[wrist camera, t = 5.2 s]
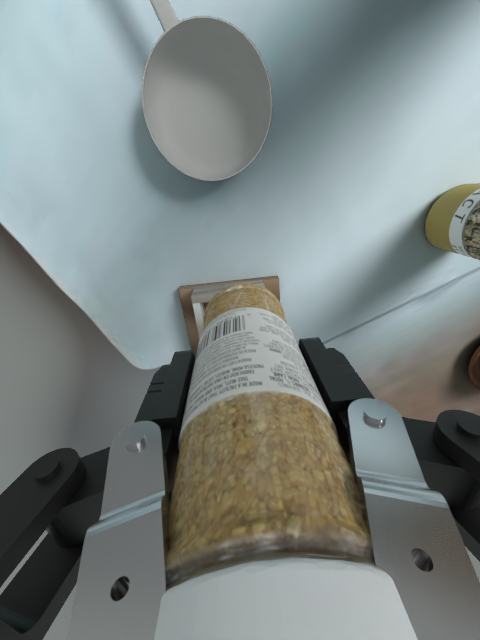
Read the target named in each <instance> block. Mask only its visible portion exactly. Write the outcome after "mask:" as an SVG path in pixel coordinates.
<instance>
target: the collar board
mask: <svg viewBox="0 0 480 640" xmlns="http://www.w3.org/2000/svg"><path fill="white" fill-rule="evenodd" d="M240 283H250V284H255V285H259V286H261V287H264V288H266V289H268V290H269V291H270V292H271V293H272V294H274V295H275V296H276V298H277V299H278V300H279V302H280V292H279V278H278V276H271V277H262V278H253V279H244V280H234V281H225V282H216V283H207V284H198V285H189V286H180V288H179V289H178V291H179V295H180V300H181V304H182V309H183V313H184V318H185V322H186V326H187V331H188V335H189V340H190V344H191V349H192V350H193V351H194V353H195V357H196V354H197V349H198V344H199V340H200V337H201V335H202V333H203V329H204V325H203V317H204V314H205V311H206V307H207V305H208V303H209V302H210V300H211V299H212V298H213V296H214V295H215V294H217V293H218V292H219V291H222V290H223V289H224V288H226V287H229V286H231V285H234V284H240Z"/></svg>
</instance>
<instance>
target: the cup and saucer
mask: <svg viewBox="0 0 480 640" xmlns="http://www.w3.org/2000/svg"><path fill="white" fill-rule="evenodd" d="M468 372H469V377H470V380H471V381H472V383H473V384H474V385H475V386H476V387H477V388H479V389H480V346H479V347H478V348H477V349H476V351H475V352H474V354H473V356H472V358H471V360H470V364H469V370H468Z"/></svg>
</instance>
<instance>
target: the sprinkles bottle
mask: <svg viewBox="0 0 480 640" xmlns="http://www.w3.org/2000/svg"><path fill="white" fill-rule="evenodd" d="M203 325H204V329H203V333H202V335H201V337H200V340H199V344H198V349H197V354H196V358H195V362H194V367H193V372H192V377H191V382H190V387H189V392H188V397H187V401H186V406H185V411H184V416H183V421H182V426H181V431H180V436H179V444H178V449H179V456H178V461H177V467H176V473H175V478H174V488H173V492H172V497H171V501H170V513H169V543H170V550H169V552H168V557H167V564H166V566H167V573H168V578H169V588H168V590H167V591H166V592H165V593H164V594H163V596H162V599H161V604H160V609H159V615H158V620H157V626H156V631H155V637H154V640H418V639H417V637H416V634H415V632H414V629H413V627H412V625H411V622H410V620H409V617H408V615H407V613H406V610H405V608H404V605H403V603H402V601H401V598H400V596H399V593H398V591H397V589H396V586H395V584H394V581H393V579H392V578H391V577H390V576H389V575H388V574H387V573H386V572H385V571H383V570H381V569H379V568H376V567H375V564H374V561H373V556H372V545H371V539H370V535H369V533H368V531H367V528H366V524H365V521H364V516H363V510H362V507H361V503H360V497H359V493H358V489H357V485H356V484H355V478H354V473H353V470H352V467H351V465H350V464H349V463H348V460H347V457H346V455H345V452H344V450H343V448H342V446H341V444H340V442H339V439H338V434H337V430H336V427H335V425H334V423H333V420H332V418H331V416H330V414H329V412H328V410H327V407H326V405H325V403H324V401H323V399H322V397H321V395H320V392H319V390H318V388H317V386H316V384H315V381H314V379H313V377H312V375H311V373H310V370H309V368H308V366H307V364H306V361H305V359H304V357H303V355H302V352H301V350H300V348H299V346H298V344H297V341H296V339H295V337H294V335H293V332H292V330H291V329H290V327H289V326H288V325H287V322H286V320H285V318H284V312H283V309H282V307H281V304H280V302H279V300H278V299H277V298H276V296H275V295H274V294H272V293H271V292H270V291H269V290H268V289H266V288H264V287H261V286H259V285H255V284H250V283H240V284H234V285H231V286H229V287H226V288H224V289H223V290H222V291H219V292H218V293H217V294H215V295H214V296H213V298H212V299H211V300H210V302H209V303H208V305H207V307H206V311H205V314H204V317H203Z"/></svg>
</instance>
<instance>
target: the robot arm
mask: <svg viewBox="0 0 480 640" xmlns="http://www.w3.org/2000/svg"><path fill="white" fill-rule="evenodd" d="M299 348H300V350H301V352H302V355H303V357H304V359H305V361H306V364H307V366H308V368H309V370H310V373H311V375H312V377H313V379H314V381H315V384H316V386H317V388H318V390H319V392H320V395H321V397H322V399H323V401H324V403H325V405H326V407H327V410H328V412H329V414H330V416H331V418H332V420H333V423H334V425H335V427H336V430H337V434H338V439H339V442H340V444H341V446H342V448H343V450H344V452H345V455H346V457H347V460H348V463H349V464H350V465H351V467H352V470H353V473H354V478H355V484H356V485H357V489H358V493H359V497H360V503H361V507H362V510H363V516H364V521H365V524H366V528H367V531H368V533H369V535H370V539H371V545H372V556H373V561H374V564H375V567H376V568H379V569H381V570H383V571H385V572H386V573H387V574H388V575H389V576H390V577H391V578H392V579H393V581H394V584H395V586H396V589H397V591H398V593H399V596H400V598H401V601H402V603H403V605H404V608H405V610H406V613H407V615H408V617H409V620H410V622H411V625H412V627H413V629H414V632H415V634H416V637H417V639H418V640H480V582H479V579H478V577H477V574H476V572H475V569H474V567H473V565H472V562H471V560H470V557H469V555H468V552H467V550H466V548H465V546H466V547H467V548H468V550H469V551H470V552H471V553H472V554H473V555H474V556H475V557H476V558H477V559H478V560H479V561H480V416H478V415H475V414H473V413H470V412H466V411H461V410H447V411H444V412H442V413H440V414H439V415H438V418H437V421H436V422H429V421H422V420H416V419H409V418H405V417H401V415H400V414H399V413H398V412H397V410H396V409H394V408H393V407H392V406H390V405H389V404H387V403H385V402H382V401H380V400H376V399H375V398H374V397H373V395H372V394H371V392H370V391H369V390H368V388H367V387H366V385H365V384H364V383H363V381H362V380H361V378H360V377H359V376H358V374H357V373H356V372H355V370H354V369H353V367H352V366H351V365H350V363H349V361H348V360H347V359H346V357H345V356H344V355H343V354H342V353H340V352H339V351H337V350H336V349H334V348H328V349H326V348H325V346H324V345H323V343H322V342H321V340H320V339H319V338H318V337H316V338H307V339H300V340H299ZM195 358H196V357H195V353H194V351H193V350H190V351H181V352H175V353H174V355H173V358H172V361H171V364H170V365H163V366H162V367H161V368H160V369H159V370H158V371H157V372H156V373H155V374H154V376H153V379H152V381H151V383H150V384H151V385H150V386H149V388H148V391H147V394H146V395H145V398H144V400H143V403H142V405H141V408H140V410H139V412H138V415H137V417H136V419H135V422H134V423H133V424H131V425H129V426H127V427H126V428H124V429H123V430H122V431H120V432H119V434H117V436H116V437H115V438H114V440H113V441H112V443H111V446H110V447H108V448H106V449H103V450H101V451H98V452H95V453H93V454H90V455H87V456H85V457H82V458H80V457H79V455H78V453H77V452H76V451H75V450H74V449H71V448H62V449H57V450H54V451H52V452H50V453H47V454H46V455H44V456H42V457H41V458H39V459H38V460H36V461H35V462H34V463H33V464H32V465H30V466H29V468H27V469H26V470H25V471H24V472H23V473H22V474H21V475H20V476H19V477H18V478H17V479H16V480H15V481H14V482H13V483H12V484H11V485H10V486H9V487H8V488H7V489H6V490H5V491H4V492H3V493H2V494H1V495H0V587H1V586H2V585H3V583H4V582H5V581H6V579H7V578H8V577H9V575H10V574H11V573H12V572H13V570H14V569H15V568H16V567H17V565H18V564H19V563H20V561H21V560H22V559H23V558H24V556H25V555H26V554H27V553H28V551H29V550H30V549H31V547H32V546H33V545H34V544H35V542H36V541H37V540H38V539H39V537H40V536H41V535H42V533H43V532H44V531H45V530H47V532H48V534H47V535H46V537H45V538H44V539H43V541H42V542H41V543H40V545H39V546H38V547H37V549H36V550H35V551H34V552H33V554H32V555H31V556H30V558H29V559H28V560H27V561H26V563H25V564H24V565H23V567H22V568H21V569H20V571H19V572H18V573H17V574H16V576H15V577H14V578H13V580H12V581H11V582H10V584H9V585H8V586H7V587H6V589H5V590H4V591H3V593H2V594H1V595H0V640H42V639H43V638H44V636H45V634H46V633H47V631H48V629H49V628H50V626H51V624H52V623H53V621H54V619H55V618H56V616H57V614H58V613H59V611H60V610H61V608H62V606H63V605H64V603H65V601H66V600H67V598H68V596H69V595H70V593H71V591H72V590H73V588H74V586H75V585H76V590H75V595H74V601H73V606H72V612H71V618H70V623H69V629H68V635H67V640H154V637H155V631H156V626H157V620H158V615H159V609H160V604H161V599H162V596H163V594H164V593H165V592H166V591H167V590H168V588H169V578H168V573H167V566H166V564H167V557H168V552H169V550H170V543H169V513H170V501H171V497H172V492H173V488H174V478H175V473H176V467H177V461H178V456H179V449H178V444H179V436H180V431H181V426H182V421H183V416H184V411H185V406H186V401H187V397H188V392H189V387H190V382H191V377H192V372H193V367H194V362H195ZM76 583H77V584H76Z"/></svg>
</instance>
